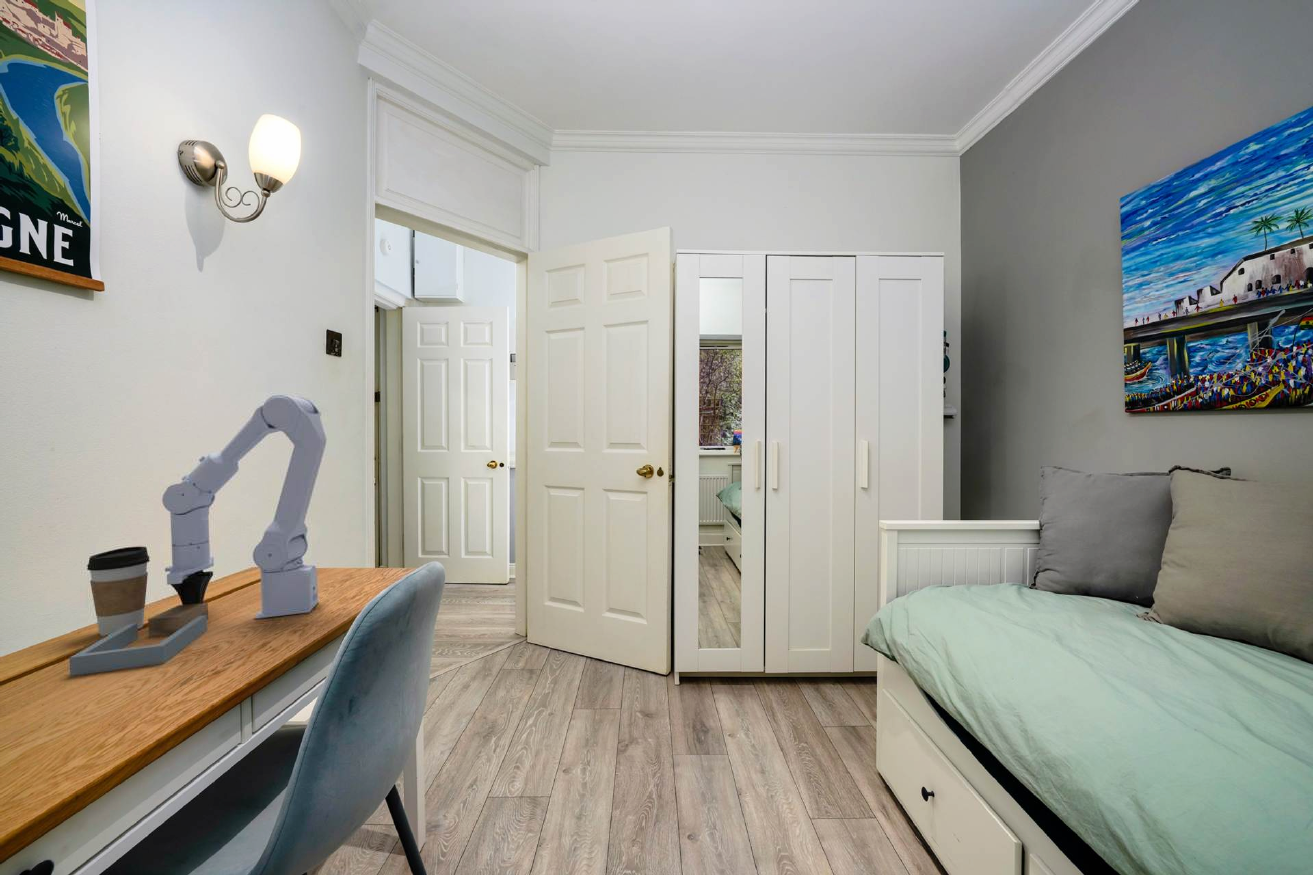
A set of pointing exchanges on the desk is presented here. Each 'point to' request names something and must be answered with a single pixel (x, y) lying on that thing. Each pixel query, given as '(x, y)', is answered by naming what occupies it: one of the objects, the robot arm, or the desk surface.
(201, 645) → the desk surface
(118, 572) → the coffee cup
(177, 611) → the walnut block
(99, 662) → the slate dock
